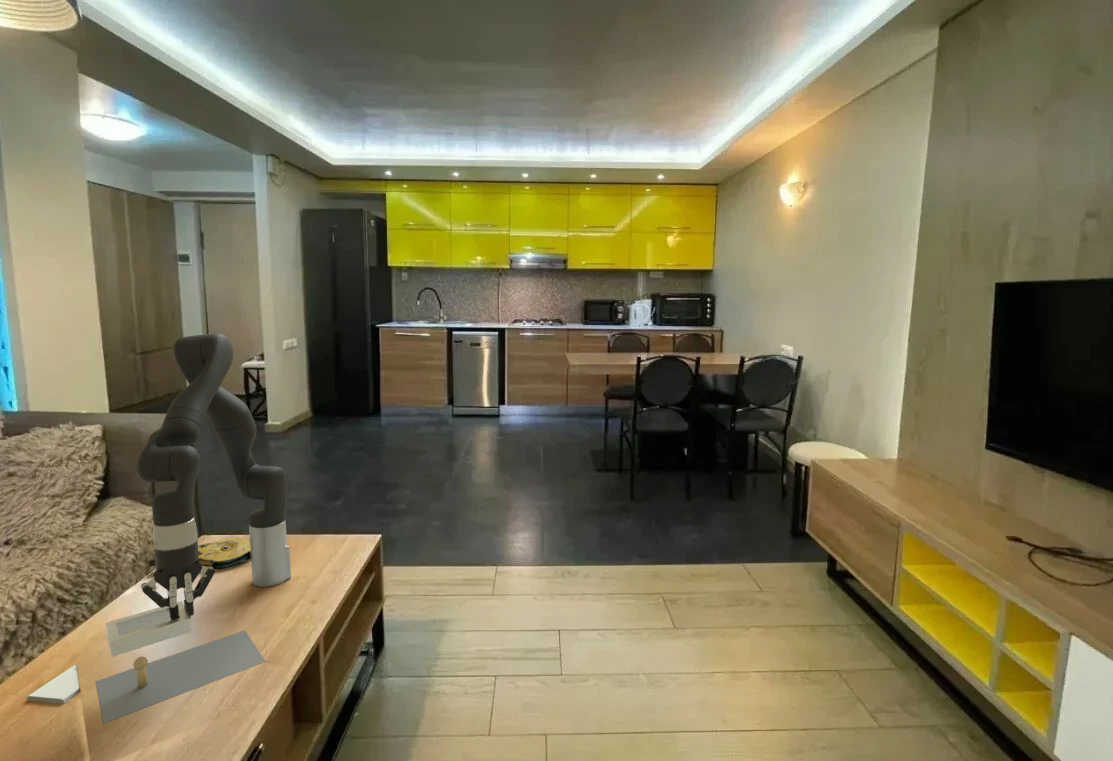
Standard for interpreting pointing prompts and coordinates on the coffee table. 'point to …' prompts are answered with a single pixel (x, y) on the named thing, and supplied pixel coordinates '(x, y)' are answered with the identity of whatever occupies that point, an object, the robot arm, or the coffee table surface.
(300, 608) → the coffee table surface
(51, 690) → the external hard drive
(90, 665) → the coffee table surface
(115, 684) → the board
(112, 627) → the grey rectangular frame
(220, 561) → the pulley block
